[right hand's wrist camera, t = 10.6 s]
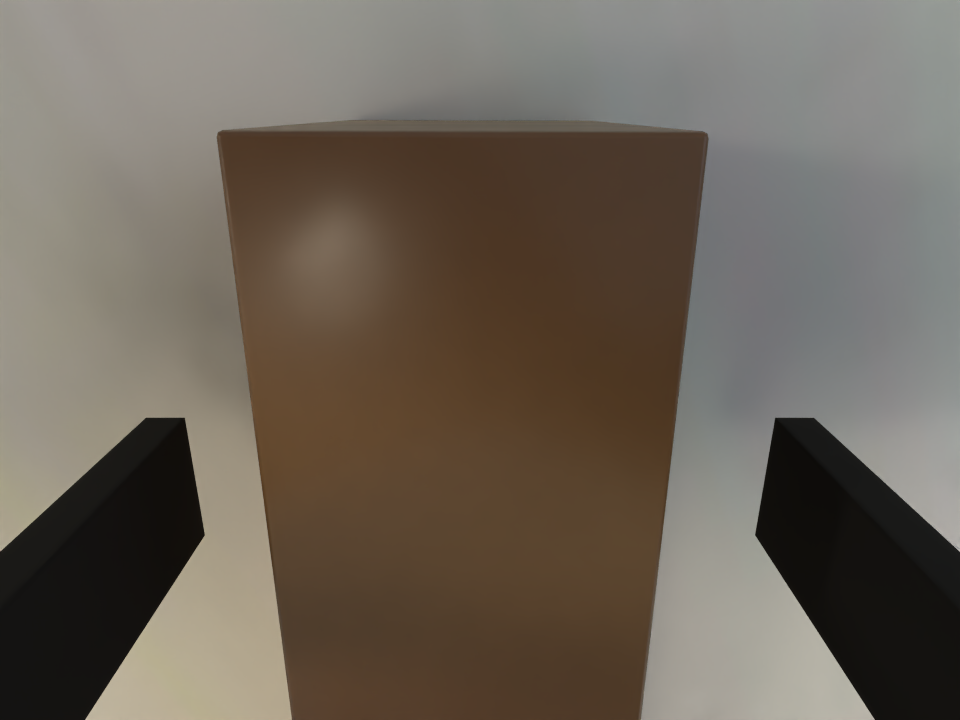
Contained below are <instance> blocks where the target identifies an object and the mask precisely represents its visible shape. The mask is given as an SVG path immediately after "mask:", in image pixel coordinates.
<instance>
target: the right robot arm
mask: <svg viewBox="0 0 960 720" xmlns="http://www.w3.org/2000/svg"><path fill="white" fill-rule="evenodd" d="M204 536H205V534H204V528H203V522H202V516H201V510H200V504H199V499H198V493H197V487H196V481H195V475H194V469H193V464H192V458H191V452H190V446H189V440H188V434H187V429H186V423H185V418H145V419H144V420H143V421H142V422H141V423H140V424H139V425H138V426H137V427H136V428H135V429H133V430H132V431H131V432H130V433H129V434H128V435H127V436H126V437H125V438H124V439H123V440H121V441H120V442H119V443H118V444H117V445H116V446H115V447H114V448H113V449H112V450H111V451H110V452H108V453H107V454H106V455H105V456H104V457H103V458H102V459H101V460H100V461H99V462H98V463H96V464H95V465H94V466H93V467H92V468H91V469H90V470H89V471H88V472H87V473H86V474H84V475H83V476H82V477H81V478H80V479H79V480H78V481H77V482H76V483H75V484H74V485H73V486H71V487H70V488H69V489H68V490H67V491H66V492H65V493H64V494H63V495H62V496H61V497H59V498H58V499H57V500H56V501H55V502H54V503H53V504H52V505H51V506H50V507H49V508H47V509H46V510H45V511H44V512H43V513H42V514H41V515H40V516H39V517H38V518H37V519H36V520H34V521H33V522H32V523H31V524H30V525H29V526H28V527H27V528H26V529H25V530H24V531H22V532H21V533H20V534H19V535H18V536H17V537H16V538H15V539H14V540H13V541H12V542H11V543H9V544H8V545H7V546H6V547H5V548H4V549H3V550H2V551H1V552H0V720H85V719H86V717H87V716H88V714H89V713H90V711H91V710H92V708H93V707H94V705H95V704H96V702H97V700H98V699H99V697H100V696H101V694H102V693H103V691H104V690H105V688H106V687H107V685H108V683H109V682H110V680H111V679H112V677H113V676H114V674H115V673H116V671H117V670H118V668H119V667H120V665H121V663H122V662H123V660H124V659H125V657H126V656H127V654H128V653H129V651H130V650H131V648H132V647H133V645H134V643H135V642H136V640H137V639H138V637H139V636H140V634H141V633H142V631H143V630H144V628H145V626H146V625H147V623H148V622H149V620H150V619H151V617H152V616H153V614H154V613H155V611H156V610H157V608H158V606H159V605H160V603H161V602H162V600H163V599H164V597H165V596H166V594H167V593H168V591H169V589H170V588H171V586H172V585H173V583H174V582H175V580H176V579H177V577H178V576H179V574H180V573H181V571H182V569H183V568H184V566H185V565H186V563H187V562H188V560H189V559H190V557H191V556H192V554H193V552H194V551H195V549H196V548H197V546H198V545H199V543H200V542H201V540H202V539H203V537H204ZM755 536H756V537H757V539H758V540H759V542H760V543H761V545H762V546H763V548H764V549H765V551H766V553H767V554H768V556H769V557H770V559H771V560H772V562H773V563H774V565H775V566H776V568H777V569H778V571H779V573H780V574H781V576H782V577H783V579H784V580H785V582H786V583H787V585H788V586H789V588H790V590H791V591H792V593H793V594H794V596H795V597H796V599H797V600H798V602H799V603H800V605H801V606H802V608H803V610H804V611H805V613H806V614H807V616H808V617H809V619H810V620H811V622H812V623H813V625H814V626H815V628H816V630H817V631H818V633H819V634H820V636H821V637H822V639H823V640H824V642H825V643H826V645H827V647H828V648H829V650H830V651H831V653H832V654H833V656H834V657H835V659H836V660H837V662H838V663H839V665H840V667H841V668H842V670H843V671H844V673H845V674H846V676H847V677H848V679H849V680H850V682H851V684H852V685H853V687H854V688H855V690H856V691H857V693H858V694H859V696H860V697H861V699H862V700H863V702H864V704H865V705H866V707H867V708H868V710H869V711H870V713H871V714H872V716H873V717H874V719H875V720H960V552H959V551H958V550H957V549H956V548H955V547H954V546H953V545H952V544H951V543H949V542H948V541H947V540H946V539H945V538H944V537H943V536H942V535H941V534H940V533H939V532H938V531H936V530H935V529H934V528H933V527H932V526H931V525H930V524H929V523H928V522H927V521H926V520H924V519H923V518H922V517H921V516H920V515H919V514H918V513H917V512H916V511H915V510H914V509H912V508H911V507H910V506H909V505H908V504H907V503H906V502H905V501H904V500H903V499H902V498H901V497H899V496H898V495H897V494H896V493H895V492H894V491H893V490H892V489H891V488H890V487H889V486H887V485H886V484H885V483H884V482H883V481H882V480H881V479H880V478H879V477H878V476H877V475H875V474H874V473H873V472H872V471H871V470H870V469H869V468H868V467H867V466H866V465H865V464H864V463H862V462H861V461H860V460H859V459H858V458H857V457H856V456H855V455H854V454H853V453H852V452H850V451H849V450H848V449H847V448H846V447H845V446H844V445H843V444H842V443H841V442H840V441H839V440H837V439H836V438H835V437H834V436H833V435H832V434H831V433H830V432H829V431H828V430H827V429H825V428H824V427H823V426H822V425H821V424H820V423H819V422H818V421H817V420H816V419H815V418H775V423H774V428H773V434H772V440H771V446H770V452H769V458H768V464H767V469H766V475H765V481H764V487H763V493H762V499H761V504H760V510H759V516H758V522H757V528H756V534H755Z"/></svg>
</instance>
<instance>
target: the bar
mask: <svg viewBox="0 0 960 720" xmlns="http://www.w3.org/2000/svg"><path fill="white" fill-rule="evenodd" d="M708 139H709V138H708V135H707V133H705V132H702V131H692V130H682V129H671V128H661V127H650V126H640V125H629V124H619V123H608V122H598V121H438V120H348V121H335V122H322V123H309V124H297V125H284V126H271V127H258V128H245V129H233V130H222V131H220V132H218V134H217V142H218V150H219V158H220V166H221V173H222V181H223V189H224V197H225V204H226V212H227V220H228V227H229V235H230V243H231V251H232V258H233V266H234V274H235V282H236V289H237V297H238V305H239V312H240V320H241V328H242V336H243V343H244V351H245V359H246V367H247V374H248V382H249V390H250V398H251V405H252V413H253V421H254V428H255V436H256V444H257V452H258V459H259V467H260V475H261V483H262V490H263V498H264V506H265V513H266V521H267V529H268V537H269V544H270V552H271V560H272V568H273V575H274V583H275V591H276V598H277V606H278V614H279V622H280V629H281V637H282V645H283V653H284V660H285V668H286V676H287V683H288V691H289V699H290V707H291V714H292V720H641V713H642V704H643V696H644V687H645V678H646V670H647V661H648V653H649V644H650V636H651V627H652V618H653V610H654V601H655V593H656V584H657V576H658V567H659V559H660V550H661V541H662V533H663V524H664V516H665V507H666V499H667V490H668V481H669V473H670V464H671V456H672V447H673V439H674V430H675V421H676V413H677V404H678V396H679V387H680V379H681V370H682V362H683V353H684V344H685V336H686V327H687V319H688V310H689V302H690V293H691V284H692V276H693V267H694V259H695V250H696V242H697V233H698V225H699V216H700V207H701V199H702V190H703V182H704V173H705V165H706V156H707V147H708Z"/></svg>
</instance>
